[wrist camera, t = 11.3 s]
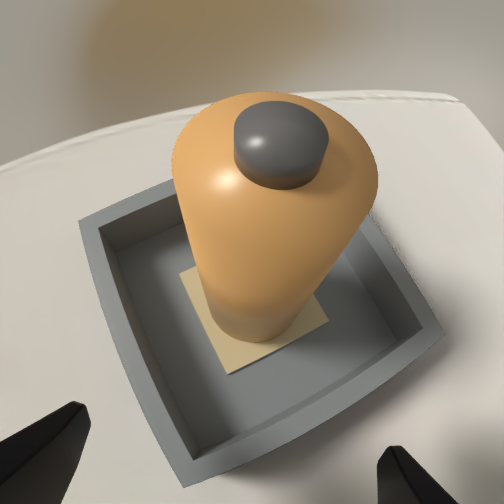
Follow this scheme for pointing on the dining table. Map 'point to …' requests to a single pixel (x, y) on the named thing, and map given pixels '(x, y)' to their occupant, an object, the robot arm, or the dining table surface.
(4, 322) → the dining table surface
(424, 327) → the gray square tray
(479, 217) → the dining table surface
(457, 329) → the dining table surface
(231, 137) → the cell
